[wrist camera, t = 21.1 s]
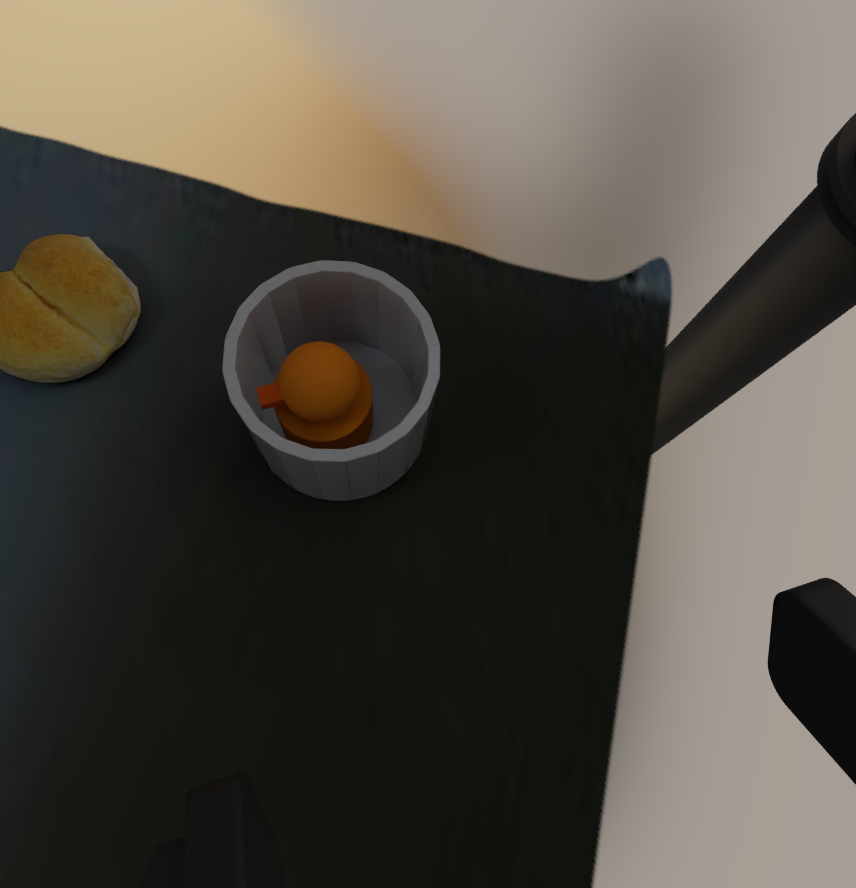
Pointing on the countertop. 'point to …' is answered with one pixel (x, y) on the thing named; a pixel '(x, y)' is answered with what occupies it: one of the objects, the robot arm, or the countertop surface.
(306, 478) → the pot
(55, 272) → the bread roll
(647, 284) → the countertop surface
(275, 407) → the duck
